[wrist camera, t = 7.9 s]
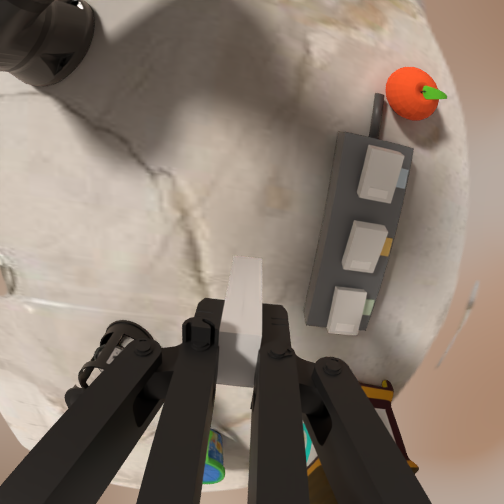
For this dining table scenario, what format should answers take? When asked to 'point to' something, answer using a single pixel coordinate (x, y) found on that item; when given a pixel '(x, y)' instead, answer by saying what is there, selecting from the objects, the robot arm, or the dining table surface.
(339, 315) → the rocker
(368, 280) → the power strip
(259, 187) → the dining table surface
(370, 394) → the decorative lantern
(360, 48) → the dining table surface
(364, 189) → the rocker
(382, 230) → the plate
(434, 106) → the clementine
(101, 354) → the french press
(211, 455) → the snack cup
